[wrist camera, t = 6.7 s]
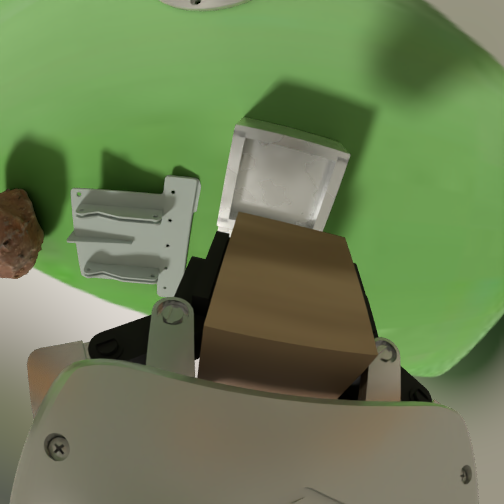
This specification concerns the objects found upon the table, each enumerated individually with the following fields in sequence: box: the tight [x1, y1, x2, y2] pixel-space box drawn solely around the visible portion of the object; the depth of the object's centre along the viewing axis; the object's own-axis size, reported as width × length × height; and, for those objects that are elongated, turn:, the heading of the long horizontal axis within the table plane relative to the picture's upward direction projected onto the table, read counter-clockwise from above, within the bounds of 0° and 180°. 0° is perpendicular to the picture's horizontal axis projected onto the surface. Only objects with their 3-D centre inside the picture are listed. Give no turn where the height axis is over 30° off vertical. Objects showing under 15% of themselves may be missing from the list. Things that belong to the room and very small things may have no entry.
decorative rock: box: [0, 189, 44, 279], centre depth 24 cm, size 13×11×10 cm
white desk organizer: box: [217, 117, 351, 237], centre depth 22 cm, size 17×8×9 cm, turn 168°
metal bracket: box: [67, 175, 201, 297], centre depth 27 cm, size 14×6×15 cm
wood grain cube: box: [198, 211, 378, 399], centre depth 10 cm, size 5×5×6 cm
